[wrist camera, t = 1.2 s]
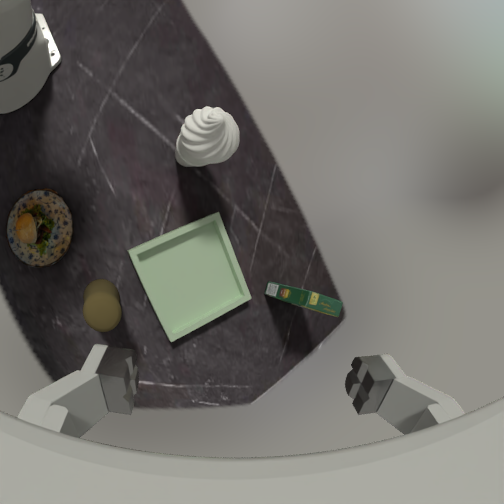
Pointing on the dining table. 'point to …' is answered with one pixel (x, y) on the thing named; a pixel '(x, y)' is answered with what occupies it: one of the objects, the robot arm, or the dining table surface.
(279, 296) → the coffee box
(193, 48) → the dining table surface
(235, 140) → the soft serve ice cream cone
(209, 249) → the tray
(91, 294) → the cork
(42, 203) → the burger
